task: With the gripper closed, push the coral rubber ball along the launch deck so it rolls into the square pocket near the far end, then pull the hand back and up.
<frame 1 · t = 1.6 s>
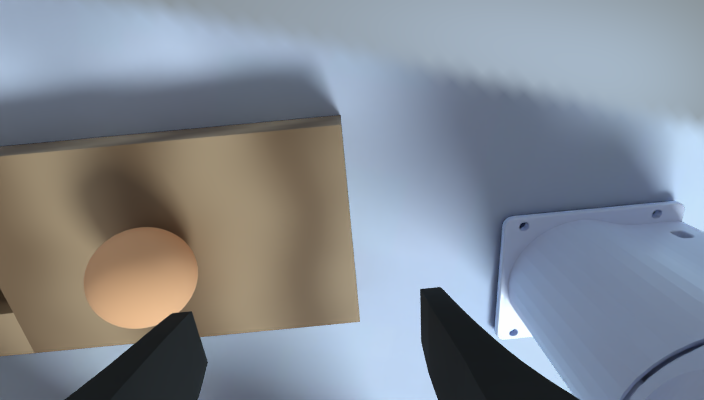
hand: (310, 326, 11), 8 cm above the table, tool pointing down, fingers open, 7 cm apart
deck: (118, 233, 19), on the table
ball: (144, 276, 15), point 4 cm above the table, touching deck
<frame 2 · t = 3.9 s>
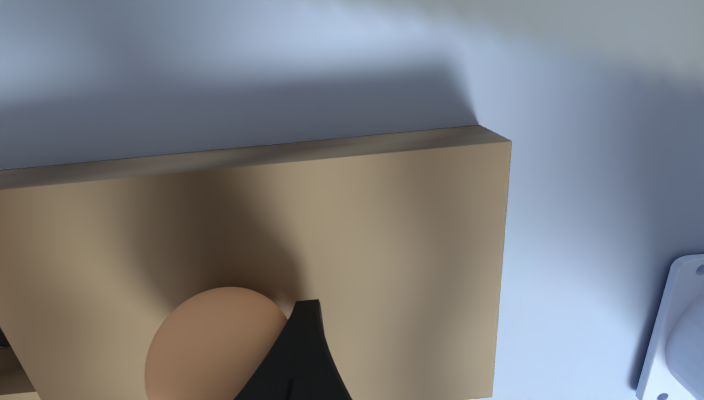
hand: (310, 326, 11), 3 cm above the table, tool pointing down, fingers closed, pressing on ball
deck: (172, 280, 15), on the table
ball: (225, 359, 10), point 4 cm above the table, touching deck, gripper
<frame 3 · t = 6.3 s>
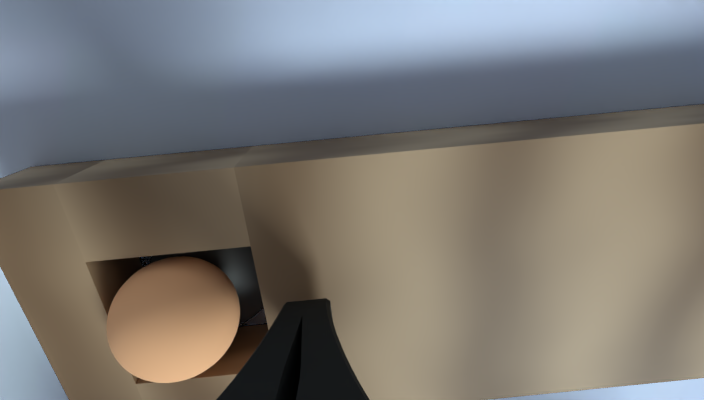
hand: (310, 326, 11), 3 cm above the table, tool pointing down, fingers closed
deck: (390, 260, 14), on the table
ball: (177, 316, 12), point 2 cm above the table, tilted 28°, touching deck
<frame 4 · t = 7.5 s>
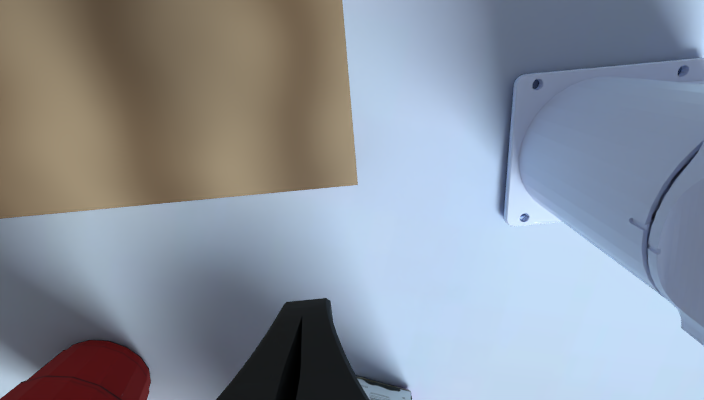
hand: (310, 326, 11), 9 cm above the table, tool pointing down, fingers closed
plastic cup: (109, 369, 24), on the table
deck: (93, 91, 17), on the table
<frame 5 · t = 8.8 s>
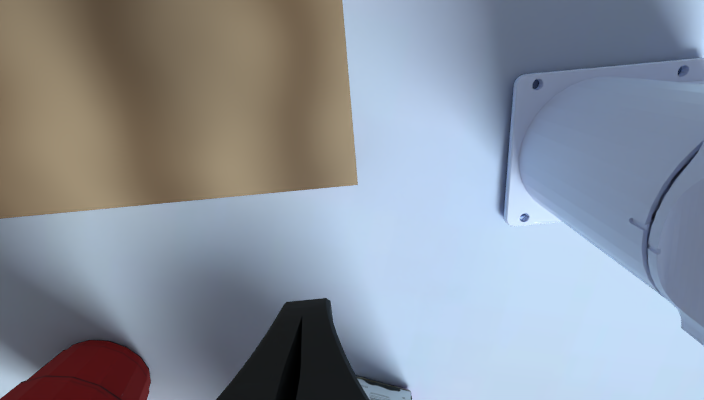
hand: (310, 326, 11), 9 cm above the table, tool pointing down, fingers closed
plastic cup: (109, 369, 24), on the table
deck: (93, 91, 17), on the table
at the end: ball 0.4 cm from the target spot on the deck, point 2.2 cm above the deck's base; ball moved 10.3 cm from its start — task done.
